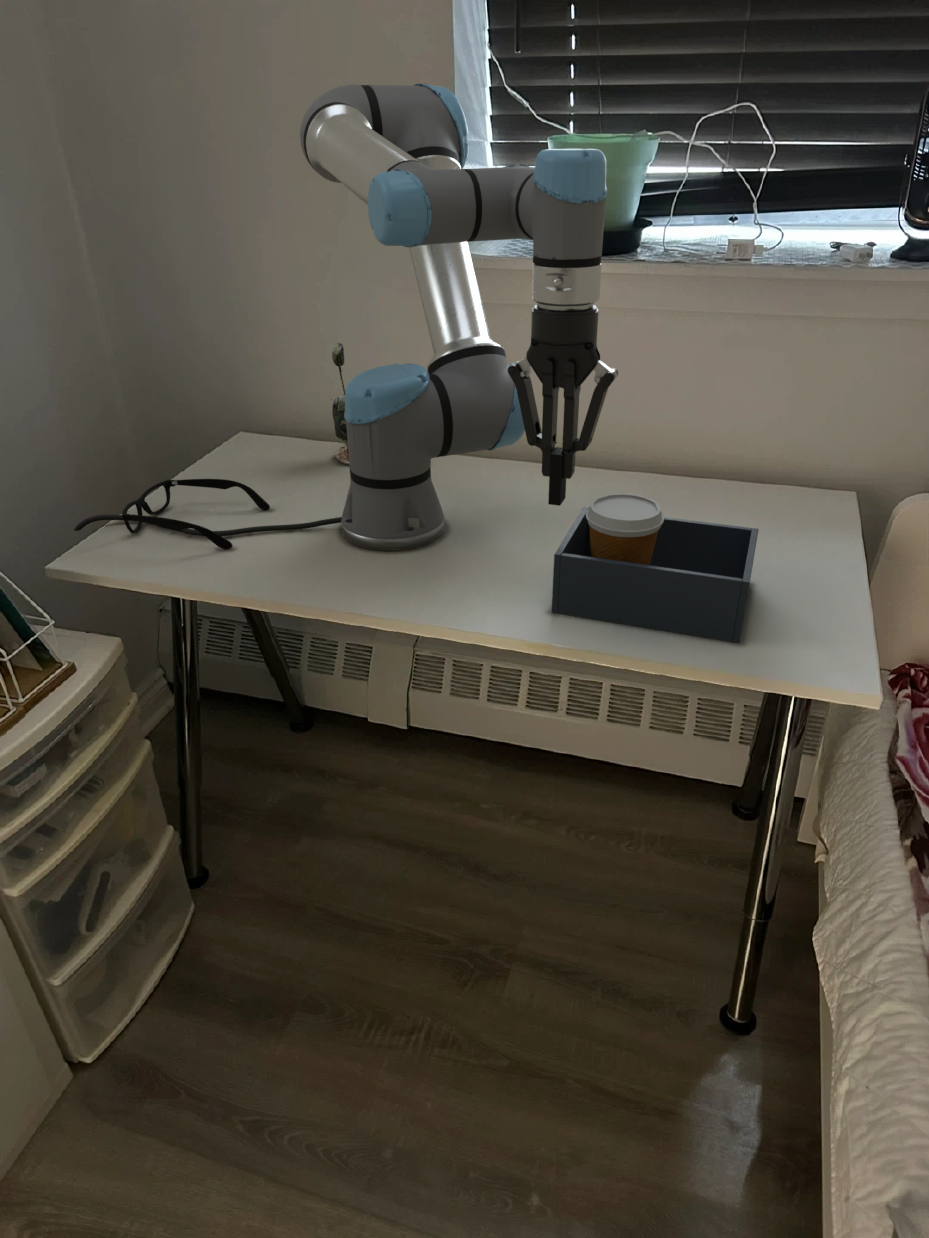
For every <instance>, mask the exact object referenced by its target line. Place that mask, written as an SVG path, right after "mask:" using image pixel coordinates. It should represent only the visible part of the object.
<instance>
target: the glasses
mask: <svg viewBox="0 0 929 1238" xmlns="http://www.w3.org/2000/svg"><path fill="white" fill-rule="evenodd" d="M176 486H183V487H184V486H185V487H198V488H210V489H219V490H228V489H230V488H236V487H237V488H239V489H242V490H243V491H244V492H245V493H246V494H247V495H248V496H249V497H250V498H251V500H252V501H253V502H254V503H255V505H256V506H257V507H258V508H259V509H260V510H261V511H268V510H270V508H271V505H270V504H269V503H268V502H267V501H266V500H265V499H264V498H263V497H262V496H261V495H259V494H258V493H257V491H255V490H254V489H253V488H251V487H250V486H248V485H246V484H244V483H242V482H239V481H236V480H231V479H222V478H190V479H189V478H187V479H166V480H163V481H159V482H158V483H156V484H153V485H152V486H151V487H148V489H146V490H145V491H143V493H142V494H141V495H140V496H139V498H137V499H136V500H133V501H131V502H129V503H127V504H126V506H125V507H124V509H123V510H122V513H121V515H122V518H123V520H124V521H123V522H124V525H125V527H126V529H127V530H128V532H129V533H131V534H136V533H138V532H139V531H140V529H141V528H142V526H143V523H144V524H147V525H151V526H155V525H156V527H158V526H160V527H159V528H161V527H164V528H168V529H172V530H171V531H173V530H176V531H175V532H177V531H180V530H183V529H187V528H189V529H194V530H197V531H198V532H200V533H201V534H203V535H204V536H203V537H205V538H207V539H208V540H209V541H210V542H211V543H212V544H213V545H216V546H217V547H218V548H220V549H222V550H231V549H232V548H233V543H232V542H231V541H229V540H228V539H227V538H225V537H224V536H220V535H218V534H216V533H215V532H213V531H214V530H211V529H209V528H206V527H205V526H202V525H198V524H196V523H191V522H188V521H184V520H178V519H174V518H168V517H162V516H160V517H159V516H155V515H159V514H161V513H163V512H164V511H165V510H166V509H167V508H168V506H170V503H171V487H173V488H174V487H176ZM159 487H163V488H164V491H165V497H166V501H165V503H164V505H163V506H162V507H161V508H159V509H158V510H155V511H153V510H152V509H151V507H150V506H149V504H148V502H146V498H147V495H149V493H151V492H152V491H153V490H155V489H158V488H159ZM134 505H135V507H136V513H137V514H132V513H128V512H129V509H130V508H131V507H132V506H134ZM143 511H144V512H145V513H146V514H148V515H144V514H143ZM128 520H135V521H134V522H137V525H136V527H135V528H134V529H133V528H132V526H131V524H130V521H128ZM164 528H163V529H164ZM168 529H167V530H168Z"/></svg>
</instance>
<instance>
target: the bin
mask: <svg viewBox="0 0 929 1238" xmlns="http://www.w3.org/2000/svg"><path fill="white" fill-rule="evenodd" d="M589 507H590V506H589ZM589 507H588V506H583V507H582V509H581V510H580V512H579V514H578V515H577V517H576V518H575V520H574V522H573V523H572V525H571V527H570V528H569V530H568V531H567V533H566V535H565V536H564V537H563V540H562V542H561V543H560V545H559V546H558V548H557V549H556V551H555V553H554V555H553V572H552V573H553V574H552V592H551V593H552V595H551V613H553V614H560V615H567V616H570V617H571V616H572V617H578V618H583V619H589V620H596V621H604V622H608V623H615V624H621V625H627V626H634V627H638V628H639V627H640V628H645V629H651V630H652V629H653V630H656V631H657V630H658V631H664V632H671V633H676V634H682V635H687V636H694V637H701V638H706V639H712V640H719V641H724V642H730V643H735V644H739V643H740V641H741V636H742V631H743V630H742V629H743V625H744V619H745V612H746V608H747V607H746V606H747V601H748V596H749V589H750V582H751V578H752V572H753V566H754V559H755V553H756V547H757V542H758V537H759V536H758V535H759V528H757V527H749V526H739V525H732V524H723V523H716V522H708V521H699V520H692V519H684V518H675V517H667V516H664V522H663V524H662V525H661V527H660V529H659V530H658V534H657V538H656V542H655V546H654V550H653V554H652V558H651V562H650V565H643V564H636V563H629V562H622V561H615V560H608V559H601V558H594V557H591V543H590V530H589V524H588V520H587V518H586V512H587V510H588V509H589Z"/></svg>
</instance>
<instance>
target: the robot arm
mask: <svg viewBox="0 0 929 1238" xmlns="http://www.w3.org/2000/svg"><path fill="white" fill-rule="evenodd" d="M299 130H300V131H299V137H300V138H299V140H300V146H301V150H302V153H303V156H304V157H305V159H306V161H307V163H308V164H309V166H310V167H311V168H312V169H313V170H314V171H315V172H316V173H317V174H318V175H320V176H321V177H322V178H323V179H325V180H327V181H330V182H333V183H337V184H342V185H343V186H344V187H346V188H347V189H348V190H349V191H350V192H352V193H353V194H354V195H355V196H356V197H357V198H359V199H360V200H361V201H362V202H364V203H365V205H367V212H368V220H369V224H370V228H371V229H372V231H373V235H374V237H375V239H376V240H377V241H378V242H379V243H380V244H381V245H384V246H386V247H397V246H398V247H405V248H408V249H409V253H410V258H411V262H412V265H413V270H414V274H415V275H414V276H415V279H416V283H417V287H418V291H419V297H420V301H421V304H422V308H423V313H424V316H425V317H424V318H425V322H426V325H427V329H428V333H429V339H430V343H431V346H432V350H433V356H432V358H431V359H430V361H429V362H428V363H427V366H426V367H424V366H423V365H421V364H418V363H402V364H399V363H392V364H385V365H380V366H377V367H373V368H370V369H367V370H365V371H362V372H361V373H357V375H355V376H354V377H353V378H352V379H350V381H349V382H348V383H347V385H346V387H345V412H344V418H345V420H346V427H347V440H348V453H349V475H350V477H349V479H350V484H349V488H348V491H347V495H346V499H345V503H344V507H343V510H342V515H341V516H338V517H332V518H326V519H320V520H316V521H315V520H314V521H309V522H301V523H293V524H292V523H291V524H290V523H289V524H273V525H258V526H250V527H242V528H235V529H225V530H212V531H213V532H215V533H216V534H218V535H220V536H222V537H230V536H239V535H245V534H254V533H263V532H278V531H279V532H280V531H296V530H305V529H312V528H317V527H321V526H322V527H323V526H328V525H334V524H340V525H341V532H342V533H341V534H342V536H343V537H344V539H346V540H347V541H348V542H349V543H351V544H353V545H355V546H358V547H361V548H365V549H369V550H375V551H376V550H377V551H403V550H409V549H414V548H419V547H421V546H426V545H428V544H430V543H432V542H434V541H436V540H437V539H438V538H440V537H441V536H442V535H443V533H444V532H445V526H446V525H445V514H444V510H443V508H442V505H441V502H440V499H439V497H438V495H437V491H436V488H435V486H434V483H433V481H432V467H431V465H432V464H431V463H432V459H435V458H442V457H449V456H456V455H462V454H468V453H475V452H476V453H477V452H482V451H488V452H489V451H490V452H491V451H494V450H496V449H499V448H504V447H509V446H512V445H514V444H516V443H517V442H518V441H520V440H521V438H522V437H523V435H524V434H525V437H526V442H527V445H529V446H531V447H534V446H535V447H536V448H538V449H540V451H541V474H542V476H543V477H547V478H548V502H547V504H548V505H552V506H557V507H558V506H560V507H561V506H562V503H564V501H565V499H566V497H567V496H566V493H567V492H566V491H567V490H566V489H567V479H568V480H570V479H572V478H573V476H574V474H575V471H576V470H575V469H576V455H577V454H576V453H577V452H580V451H581V452H584V451H586V450H587V449H588V448H589V446H590V445H591V444H592V441H593V439H594V435H595V432H596V429H597V426H598V422H599V419H600V416H601V413H602V410H603V407H604V404H605V399H606V397H607V394H608V391H609V388H610V386H611V385H612V384H613V383H614V381H615V380H616V379H617V377H618V376H619V371H618V369H617V368H616V367H609V366H608V365H607V364H606V363H604V362H603V361H601V353H600V351H599V349H598V346H597V345H598V327H599V308H598V307H597V306H596V305H595V303H597V302H598V301H599V300H600V297H601V296H600V295H601V278H602V277H601V276H602V256H603V245H604V244H603V242H604V230H605V219H606V218H605V215H606V202H607V195H608V187H607V158H606V155H605V154H604V152H603V151H602V150H600V149H598V148H547V149H542V150H540V151H539V152H538V153H537V156H536V158H535V164H534V167H533V166H529V165H527V164H518V165H516V164H508V165H506V166H502V167H478V168H477V167H476V168H465V166H466V163H467V161H468V155H469V149H470V146H469V145H470V144H469V143H470V142H469V141H468V136H469V128H468V123H467V119H466V115H465V112H464V109H463V107H462V104H461V102H460V101H459V99H458V97H457V96H456V95H455V93H453V92H452V91H451V90H450V89H448V88H446V87H444V86H442V85H429V84H426V83H422V82H421V83H420V82H419V83H415V84H413V85H403V84H402V85H399V84H398V85H397V84H396V85H395V84H393V85H392V84H356V83H355V84H353V83H352V84H345V85H339V86H337V87H333V88H331V89H329V90H327V91H326V92H324V93H321V95H319V96H318V97H316V99H314V100H313V102H312V103H311V104H310V106H308V108H307V109H306V111H305V113H304V115H303V117H302V121H301V124H300V129H299ZM505 240H527V241H532V243H533V244H532V281H531V283H532V284H531V287H532V288H531V294H532V295H531V299H532V301H533V302H535V305H534V306H533V307H532V308H531V315H530V316H531V321H530V345H529V347H528V349H527V351H526V354H525V357H523V358H522V359H521V360H520V359H519V360H516V361H514V362H510V363H508V359H507V358H508V357H507V355H506V349H505V348H504V346H503V345H501V344H500V343H497V342H496V341H494V340H493V339H492V337H491V332H490V328H489V324H488V320H487V315H486V312H485V307H484V303H483V299H482V296H481V290H480V287H479V283H478V278H477V274H476V270H475V266H474V262H473V261H474V260H473V257H472V254H471V249H470V245H469V243H470V242H472V243H473V242H488V241H505ZM532 370H533V372H534V373H535V375H536V376H537V378H538V380H539V381H540V383H541V384H542V386H541V387H542V389H541V395H542V417H541V418H542V419H541V420H542V422H540V417H539V412H538V407H537V402H536V397H535V393H534V388H533V387H534V386H533V383H532V378H531V374H532ZM593 371H594V372H595V373H594V374H595V375H594V378H593V380H594V383H595V384H596V386H595V387H594V390H593V392H592V395H591V398H590V402H589V405H588V409H587V412H586V415H585V418H584V421H583V424H582V428H581V432H580V435H579V437H578V432H579V431H578V430H579V429H578V428H579V410H580V394H581V389H582V384H584V382H585V381H586V380H587V379H588V377H589V376H590V375H591V374H592V372H593ZM560 388H561V389H563V398H564V399H563V400H564V401H563V423H562V424H563V425H562V447H558V446H556V444H558V442H559V440H557V436H558V435H557V432H558V413H559V412H558V409H559V392H560ZM100 521H123V522H124V520H123V518H122V514H97V515H93V516H90V517H87V518H85V519H83V520H81V521H80V522H79V523H78V524H77V525H76V526H75V527H74V529H73V532H78V531H81V530H82V529H83V528H84V527H86V526H87V525H89V524H91V523H94V522H100ZM128 521H129V522H136V521H135V520H128ZM154 526H156V525H154ZM156 527H158V528H161V529H165V530H170V531H173V532H178V533H182V534H185V535H191V536H195V537H196V536H197V537H205V536H204V535H203V534H201V533H200V532H198V531H197V530H195V529H191V528H187V529H183V530H180V531H176V530H172V529H168V528H164V527H160V526H156ZM85 632H86V633H91V631H85ZM91 634H92V633H91Z"/></svg>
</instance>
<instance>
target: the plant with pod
mask: <svg viewBox="0 0 929 1238" xmlns="http://www.w3.org/2000/svg"><path fill="white" fill-rule="evenodd" d="M331 359H332V362H333V364H334V365H335V366H336V367H338V372H339V376H340V381H341V387H342V391H343V395H340V396H338V397H336V398H335V399H334V400H333V398H330V400H331V401H333V403H332V409H331V410H332V411H331V415H332V420H333V425H334V432H335V433H334V434H335V437H336V438H338V439H340V440H341V441H342V442H343V443H344V445H343V446H340V448H339V450H337V452H335V454H333V457H335V458H336V459H337V460H339V462H340V463H342V464H345V465H349V453H348V440H347V427H346V420H345V418H344V412H345V390H346V388H345V384H344V380H343V374H342V371H343V370H342V367H343V366H344V365H345V352H344V346H343V343H341V342H337V343H336V344H335V346H334V347H333V350H332V351H331ZM349 466H350V465H349Z"/></svg>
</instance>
